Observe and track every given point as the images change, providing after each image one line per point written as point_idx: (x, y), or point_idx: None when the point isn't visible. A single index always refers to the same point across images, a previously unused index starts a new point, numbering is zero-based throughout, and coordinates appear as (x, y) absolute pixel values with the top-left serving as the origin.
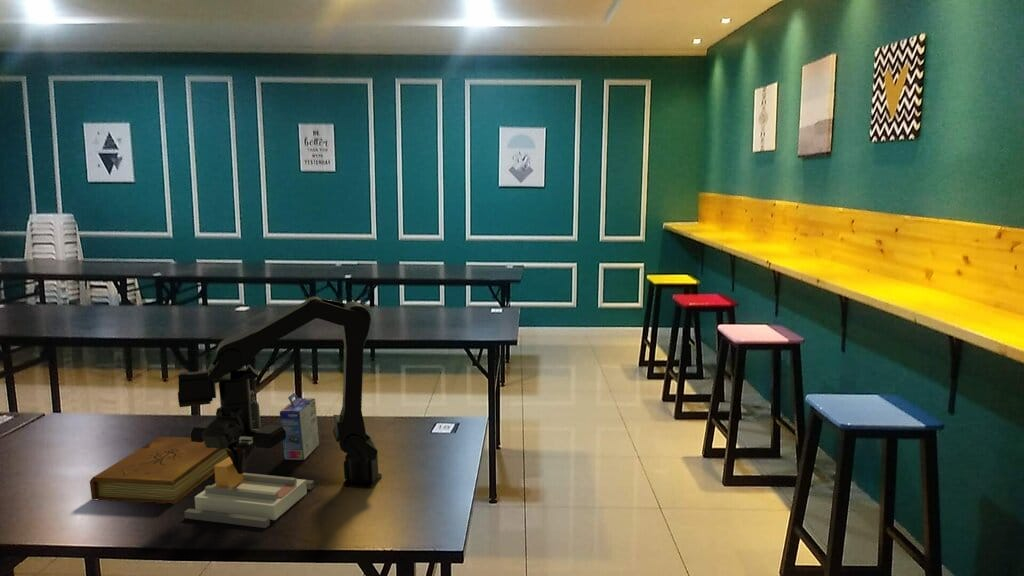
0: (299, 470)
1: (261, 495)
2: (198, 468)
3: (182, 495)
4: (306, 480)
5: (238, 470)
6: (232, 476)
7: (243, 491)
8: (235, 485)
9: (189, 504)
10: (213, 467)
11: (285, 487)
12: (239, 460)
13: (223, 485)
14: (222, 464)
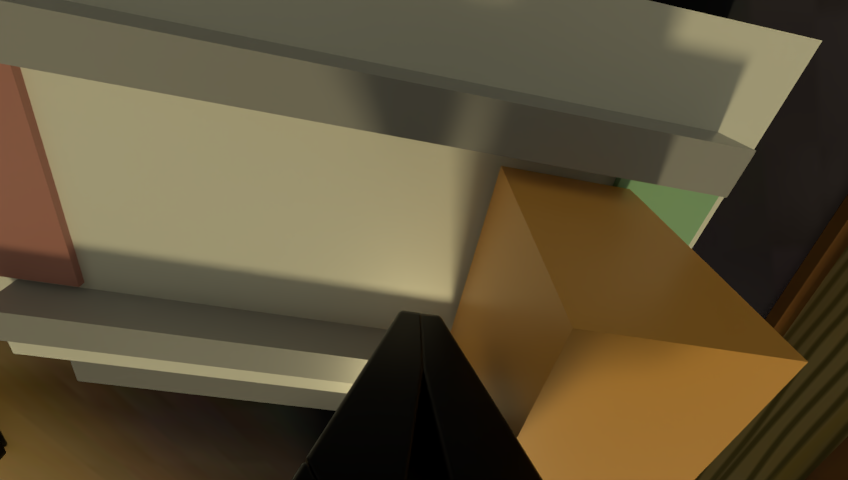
0: (295, 468)
1: (38, 1)
2: (804, 449)
3: (844, 232)
4: (123, 381)
5: (426, 336)
6: (499, 285)
7: (281, 59)
8: (476, 251)
9: (781, 133)
10: (699, 475)
11: (34, 237)
12: (363, 468)
13: (565, 192)
14: (673, 403)
